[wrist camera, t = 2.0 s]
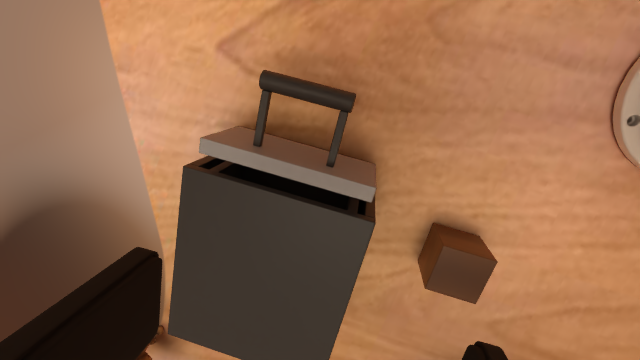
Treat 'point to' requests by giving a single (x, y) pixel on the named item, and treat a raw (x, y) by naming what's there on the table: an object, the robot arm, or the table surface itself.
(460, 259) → the block
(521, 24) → the table surface
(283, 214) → the cabinet
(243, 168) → the drawer
